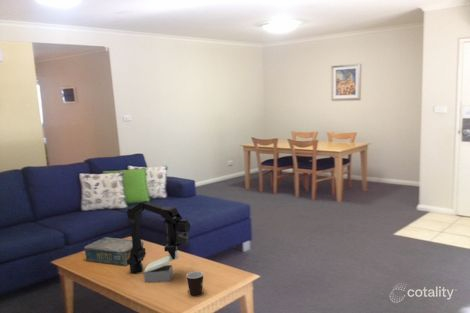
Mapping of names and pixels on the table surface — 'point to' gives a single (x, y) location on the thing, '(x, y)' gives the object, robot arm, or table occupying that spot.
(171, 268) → the tub
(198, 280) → the coffee mug
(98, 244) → the metal box
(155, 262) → the cube on cream block
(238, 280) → the table surface
